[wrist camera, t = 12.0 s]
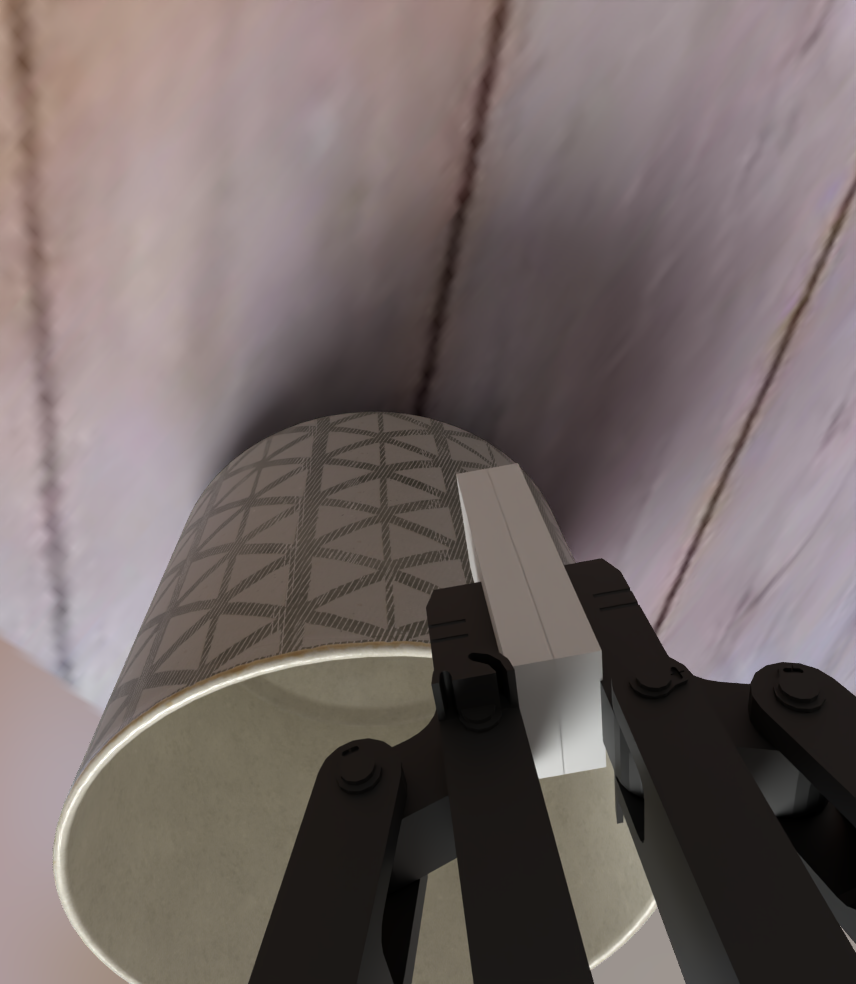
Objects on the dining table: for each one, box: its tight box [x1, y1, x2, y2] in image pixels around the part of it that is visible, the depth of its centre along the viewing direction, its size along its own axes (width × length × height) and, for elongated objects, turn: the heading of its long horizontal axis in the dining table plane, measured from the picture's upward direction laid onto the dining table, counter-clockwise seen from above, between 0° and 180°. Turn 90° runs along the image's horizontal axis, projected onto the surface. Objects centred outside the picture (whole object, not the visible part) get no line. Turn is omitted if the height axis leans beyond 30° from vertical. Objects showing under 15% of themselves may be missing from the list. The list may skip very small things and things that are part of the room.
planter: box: [53, 412, 657, 984], centre depth 38 cm, size 25×25×24 cm
